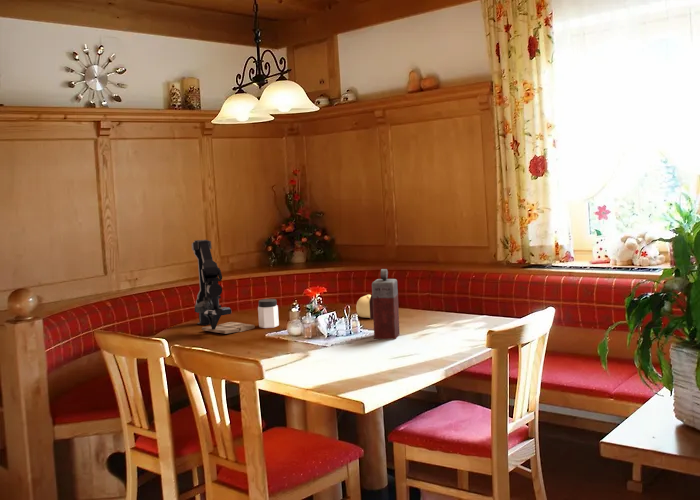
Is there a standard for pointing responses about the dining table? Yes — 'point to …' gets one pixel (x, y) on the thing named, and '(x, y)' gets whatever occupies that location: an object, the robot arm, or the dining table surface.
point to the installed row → (238, 326)
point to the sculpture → (363, 306)
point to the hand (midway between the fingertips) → (213, 329)
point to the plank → (221, 329)
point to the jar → (268, 313)
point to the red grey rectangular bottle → (385, 307)
